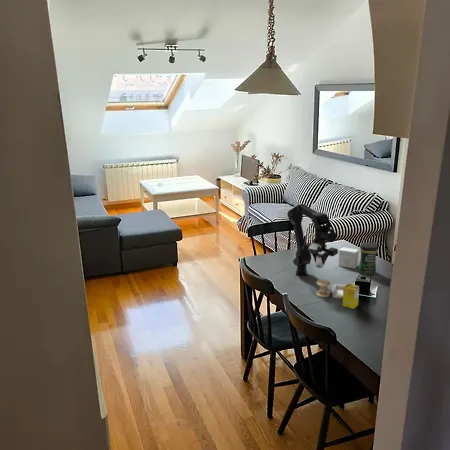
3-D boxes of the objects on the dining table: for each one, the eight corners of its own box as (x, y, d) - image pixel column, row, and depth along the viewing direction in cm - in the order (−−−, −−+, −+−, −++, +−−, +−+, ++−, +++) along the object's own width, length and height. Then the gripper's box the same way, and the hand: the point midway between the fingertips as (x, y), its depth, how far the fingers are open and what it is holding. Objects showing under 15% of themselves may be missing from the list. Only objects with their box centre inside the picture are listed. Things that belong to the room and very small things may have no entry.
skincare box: (358, 265, 263) (359, 249, 259) (354, 269, 258) (355, 252, 254) (341, 262, 268) (342, 246, 265) (338, 265, 263) (338, 249, 260)
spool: (316, 291, 232) (316, 279, 230) (329, 291, 230) (330, 279, 228) (316, 296, 225) (316, 284, 223) (330, 297, 224) (330, 285, 222)
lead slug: (318, 264, 238) (318, 252, 236) (324, 266, 235) (325, 254, 233) (314, 266, 235) (314, 254, 233) (321, 268, 233) (321, 256, 230)
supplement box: (347, 302, 218) (348, 283, 215) (358, 305, 214) (359, 285, 211) (342, 307, 214) (343, 287, 210) (353, 310, 210) (354, 290, 207)
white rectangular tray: (332, 288, 233) (332, 283, 232) (355, 290, 231) (355, 284, 230) (333, 297, 224) (333, 292, 223) (356, 298, 222) (357, 293, 221)
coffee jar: (359, 275, 249) (361, 245, 243) (357, 269, 256) (359, 240, 251) (376, 275, 247) (379, 245, 242) (374, 270, 255) (376, 240, 249)
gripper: (297, 237, 231) (297, 264, 235) (328, 244, 219) (327, 272, 223) (308, 232, 239) (308, 258, 243) (338, 238, 227) (338, 265, 231)
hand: (319, 263), depth 235 cm, fingers closed on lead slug, 4 cm apart
